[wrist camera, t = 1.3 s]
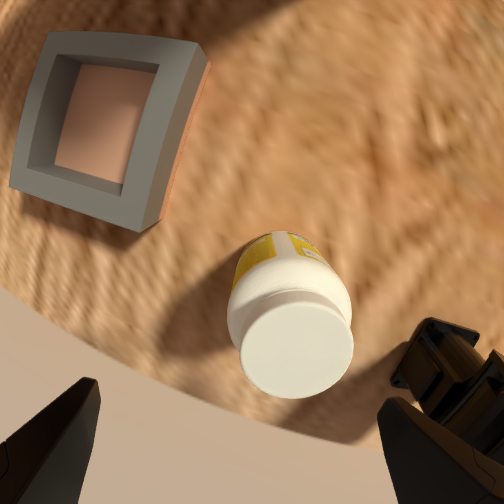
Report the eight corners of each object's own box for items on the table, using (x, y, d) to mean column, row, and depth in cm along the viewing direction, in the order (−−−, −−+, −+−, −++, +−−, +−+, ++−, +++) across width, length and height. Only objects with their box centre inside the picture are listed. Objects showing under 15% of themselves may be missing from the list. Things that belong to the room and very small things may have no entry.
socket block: (211, 64, 16) (198, 43, 12) (163, 217, 19) (139, 232, 15) (80, 46, 16) (49, 31, 12) (44, 179, 19) (8, 186, 15)
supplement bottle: (237, 312, 20) (220, 412, 11) (235, 229, 19) (212, 278, 10) (320, 311, 20) (360, 408, 11) (324, 229, 19) (383, 277, 9)
